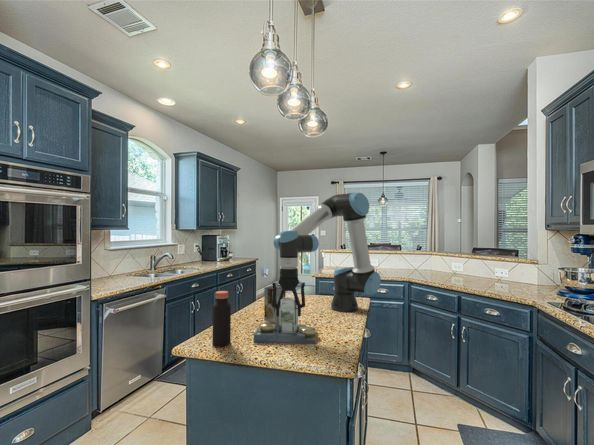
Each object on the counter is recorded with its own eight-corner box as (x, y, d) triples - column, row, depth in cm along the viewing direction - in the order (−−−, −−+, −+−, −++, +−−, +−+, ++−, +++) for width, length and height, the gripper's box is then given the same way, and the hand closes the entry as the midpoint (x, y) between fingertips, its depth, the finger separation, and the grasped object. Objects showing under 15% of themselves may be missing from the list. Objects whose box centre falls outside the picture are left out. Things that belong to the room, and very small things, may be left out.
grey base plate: (315, 331, 136) (315, 323, 136) (315, 344, 121) (315, 335, 121) (274, 331, 137) (274, 322, 137) (268, 343, 122) (268, 334, 122)
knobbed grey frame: (306, 331, 136) (306, 320, 137) (304, 344, 121) (304, 330, 122) (260, 330, 138) (260, 319, 138) (253, 342, 123) (253, 329, 123)
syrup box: (297, 331, 132) (297, 296, 132) (293, 336, 126) (293, 299, 126) (284, 330, 133) (283, 296, 133) (280, 335, 127) (280, 299, 128)
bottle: (211, 342, 123) (211, 291, 123) (228, 340, 125) (229, 289, 126) (213, 348, 117) (214, 294, 117) (232, 346, 119) (232, 292, 120)
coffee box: (286, 320, 153) (286, 287, 154) (276, 323, 148) (276, 289, 149) (273, 317, 159) (273, 285, 160) (263, 319, 155) (263, 286, 155)
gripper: (264, 268, 127) (264, 326, 126) (311, 269, 126) (311, 327, 125) (267, 266, 135) (267, 321, 134) (312, 266, 133) (312, 321, 133)
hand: (288, 323), depth 130 cm, fingers closed on syrup box, 6 cm apart
